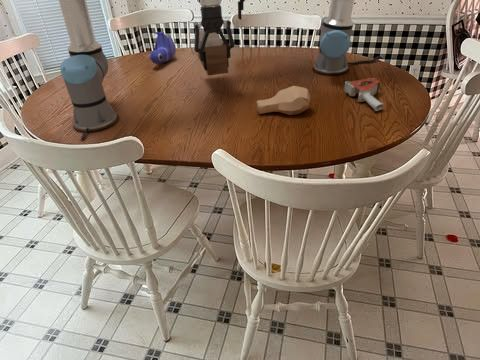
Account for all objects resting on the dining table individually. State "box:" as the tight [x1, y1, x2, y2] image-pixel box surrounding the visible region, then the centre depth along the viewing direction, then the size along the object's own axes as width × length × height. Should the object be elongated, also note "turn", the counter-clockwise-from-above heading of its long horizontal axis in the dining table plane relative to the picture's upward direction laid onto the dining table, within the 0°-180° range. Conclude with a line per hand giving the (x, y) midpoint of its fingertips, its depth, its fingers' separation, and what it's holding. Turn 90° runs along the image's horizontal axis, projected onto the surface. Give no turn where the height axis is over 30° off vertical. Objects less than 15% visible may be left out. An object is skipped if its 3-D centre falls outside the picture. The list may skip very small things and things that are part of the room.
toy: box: [148, 31, 177, 69], centre depth 182 cm, size 10×17×25 cm
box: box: [197, 30, 229, 77], centre depth 147 cm, size 24×8×11 cm, turn 14°
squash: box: [255, 85, 312, 116], centre depth 130 cm, size 11×20×9 cm, turn 92°
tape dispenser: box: [343, 77, 384, 112], centre depth 136 cm, size 18×5×20 cm
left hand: (216, 67), depth 142 cm, fingers closed on box, 8 cm apart
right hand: (224, 20), depth 149 cm, fingers open, 13 cm apart
